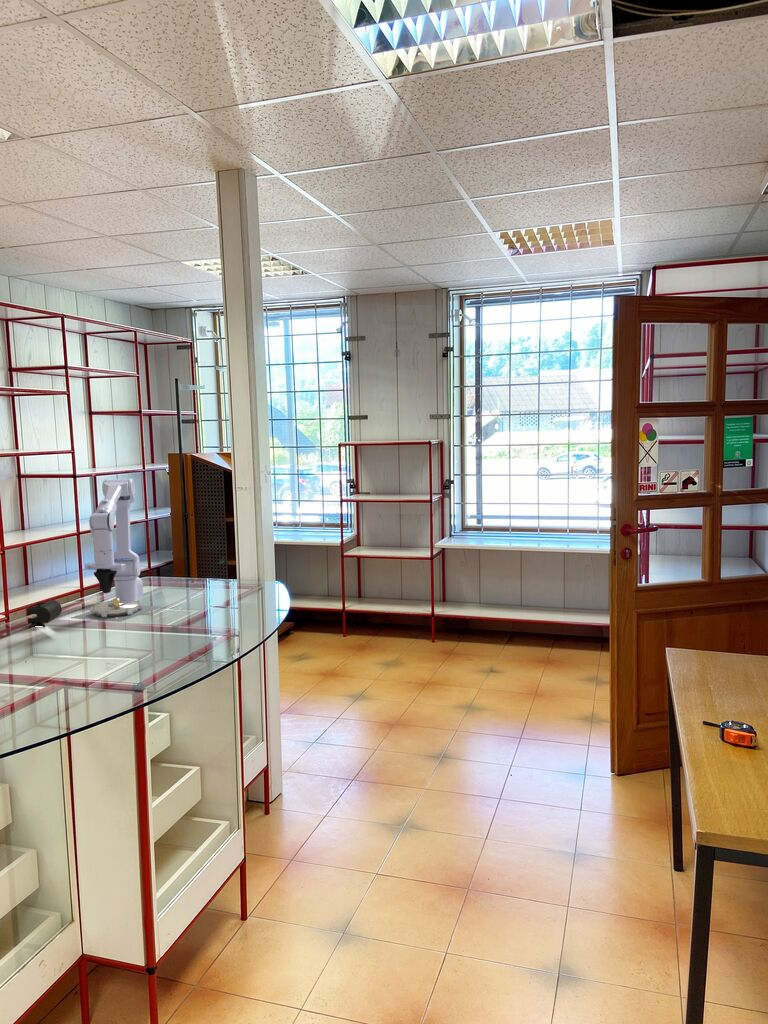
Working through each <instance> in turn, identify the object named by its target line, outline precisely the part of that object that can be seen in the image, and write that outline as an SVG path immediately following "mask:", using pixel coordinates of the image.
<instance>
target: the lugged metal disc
mask: <svg viewBox="0 0 768 1024" xmlns="http://www.w3.org/2000/svg"><path fill="white" fill-rule="evenodd" d="M142 606H143V605H142V602H141V601H136V600H133V601H130V600H124V601H120V599H119V598H116V597H114V598H112V601H108V602H107V601H104V602H103V601H102V602H100V603H99V604H96V605H94V606H91V607H90V611H91V615H93V614H94V615H96V616H102V617H110V616H121V615H129V614H133V613H134V612H137V611H138V610H139V609H142Z"/></svg>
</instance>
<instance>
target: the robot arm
mask: <svg viewBox="0 0 768 1024" xmlns="http://www.w3.org/2000/svg"><path fill="white" fill-rule="evenodd" d="M101 484H102V485H101V486H102V487H101V489H102V494H103V496H104V499H101V500H100V501H99V503H98V506H97V507H96V510H95V512H94V513H92V514H91V515H89V520H88V523H89V529H90V532H91V533H90V535H91V537H92V539H93V541H92V542H93V551H94V552H93V554H94V562H87V563H84V570H85V571H90V570H92V571H94V572H93V575H94V577H95V578H96V579H97V582H98V583H99V585H100V588H101V591H102V593H103V594H109V593H111V592H112V591H111V590H112V586H113V582H114V590H115V591H114V593H115V598H119V599H120V601H124V600H130V601H136V600H138V599H140V598H141V599H142V598H143V597H144V583H143V580H142V579H141V578H140V577H139V576H140V575H141V571H142V570H141V562H140V556H139V555H138V553H135V552H134V550H132V549H131V548H132V547H131V546H132V545H131V512H130V511H131V505H132V504H134V503H135V501H136V486H135V480H134V479H133V478H132V477H131V478H118V479H117V478H116V479H114V478H113V479H106V478H105V479H104V480H103V481H102V483H101ZM114 528H115V532H116V533H115V536H116V537H115V538H116V539H115V540H116V551H115V552H114V539H113V538H114V537H113V530H114Z"/></svg>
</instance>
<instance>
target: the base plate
mask: <svg viewBox="0 0 768 1024" xmlns="http://www.w3.org/2000/svg"><path fill="white" fill-rule="evenodd" d="M160 608H161V606H152V605H142V609H139V610H138V611H137V612H134V613H133V614H129V615H121V616H110V617H102V616H96V615H94V614H93V615H91V610H89V611H88V612H84V613H81V614H77V615H74V616H71V617H70V619H77V620H89V621H90V620H92V621H106V622H124V621H127V620H129V619H132V618H134V617H137V616H140V615H144V614H146V613H149V612H151V611H154V610H157V609H160Z"/></svg>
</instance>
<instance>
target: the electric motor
mask: <svg viewBox="0 0 768 1024" xmlns="http://www.w3.org/2000/svg"><path fill="white" fill-rule="evenodd" d="M62 608H63V607H62V605H61V604H60V602H59V601H57V600H54V599H50V600H48V601H45V602H44V601H42V602H36V603H34V605H33V606H32V605H31V606H29V607H28V608H26V615H36V617H28V618H27V624H29V625H28V628H29V627H35V626H44V627H46V626H45V625H46V624H47V623H50V622H51V621H53V620H54V619H55V618H58V617H59V616H60V615H61V613H62Z"/></svg>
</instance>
